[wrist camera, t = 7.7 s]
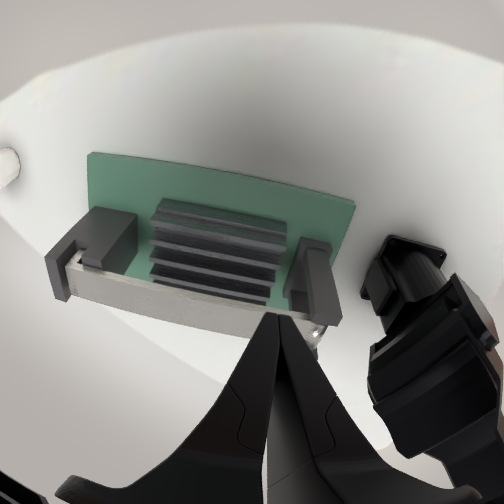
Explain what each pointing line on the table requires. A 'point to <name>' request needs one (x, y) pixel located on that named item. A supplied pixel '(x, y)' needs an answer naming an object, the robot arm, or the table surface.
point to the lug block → (95, 246)
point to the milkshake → (8, 166)
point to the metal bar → (178, 303)
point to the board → (214, 204)
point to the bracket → (313, 284)
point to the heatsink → (216, 251)
